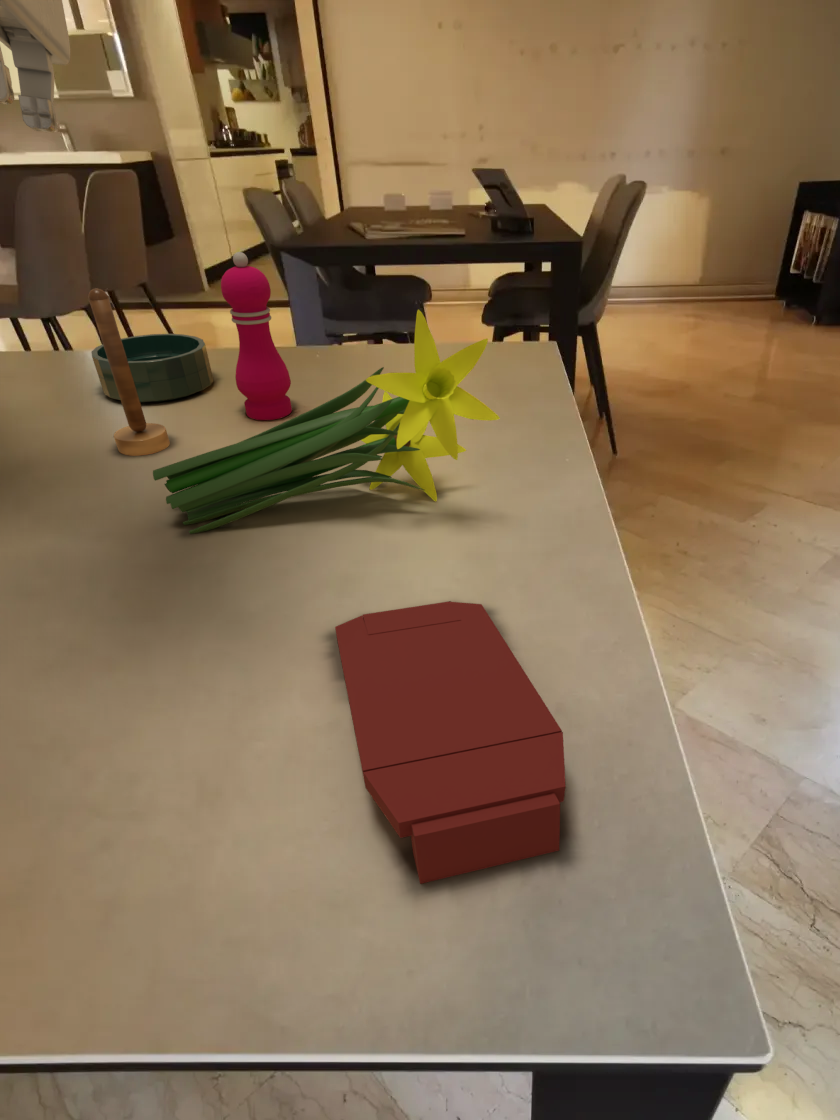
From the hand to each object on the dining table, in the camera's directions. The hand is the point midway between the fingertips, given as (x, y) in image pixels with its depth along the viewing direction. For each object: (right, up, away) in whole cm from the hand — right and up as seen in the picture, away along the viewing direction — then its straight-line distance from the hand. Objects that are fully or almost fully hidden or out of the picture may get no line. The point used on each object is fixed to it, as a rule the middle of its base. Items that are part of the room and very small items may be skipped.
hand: (20, 117), depth 45 cm
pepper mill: (-1, -1, +54) cm, 54 cm away
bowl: (-20, +6, +62) cm, 65 cm away
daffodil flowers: (+13, -20, +30) cm, 38 cm away
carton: (+27, -39, +5) cm, 48 cm away
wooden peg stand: (-13, -9, +43) cm, 46 cm away
